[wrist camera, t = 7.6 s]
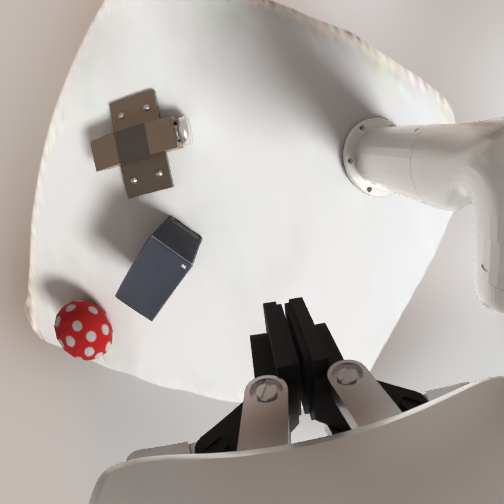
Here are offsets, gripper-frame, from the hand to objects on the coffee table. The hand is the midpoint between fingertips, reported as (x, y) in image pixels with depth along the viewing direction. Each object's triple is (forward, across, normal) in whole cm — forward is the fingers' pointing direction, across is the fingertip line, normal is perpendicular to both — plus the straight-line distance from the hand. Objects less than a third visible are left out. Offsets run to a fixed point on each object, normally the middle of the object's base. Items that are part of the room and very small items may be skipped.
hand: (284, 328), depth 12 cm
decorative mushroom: (+31, +33, +17) cm, 48 cm away
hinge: (+31, +14, -11) cm, 36 cm away
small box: (+31, +13, +6) cm, 34 cm away
